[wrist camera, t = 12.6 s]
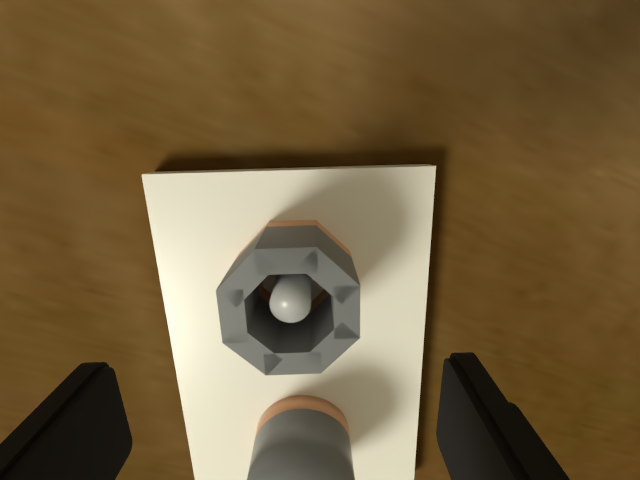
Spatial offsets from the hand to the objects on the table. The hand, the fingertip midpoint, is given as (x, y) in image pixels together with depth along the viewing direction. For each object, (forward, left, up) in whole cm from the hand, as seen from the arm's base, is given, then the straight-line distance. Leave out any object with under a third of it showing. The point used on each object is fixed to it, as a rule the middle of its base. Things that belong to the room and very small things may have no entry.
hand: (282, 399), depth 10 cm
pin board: (0, +7, -12) cm, 14 cm away
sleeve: (0, +1, -11) cm, 11 cm away
